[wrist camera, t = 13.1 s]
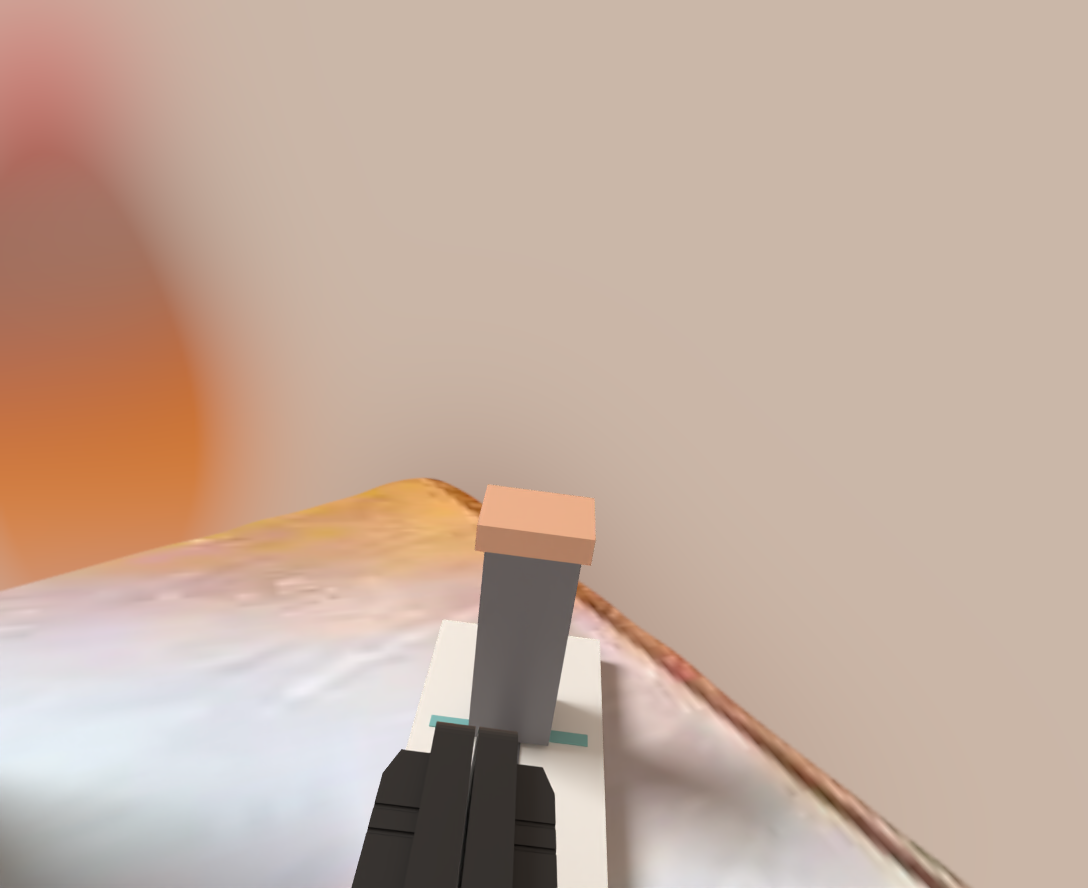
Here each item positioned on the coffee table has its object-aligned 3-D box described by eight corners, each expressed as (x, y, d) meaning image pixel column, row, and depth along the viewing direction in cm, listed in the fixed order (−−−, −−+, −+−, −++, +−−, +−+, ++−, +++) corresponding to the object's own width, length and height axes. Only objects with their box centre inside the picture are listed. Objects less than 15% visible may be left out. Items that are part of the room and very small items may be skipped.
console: (313, 1105, 26) (311, 1082, 25) (441, 639, 49) (442, 618, 48) (607, 1142, 26) (615, 1121, 25) (595, 658, 49) (599, 638, 48)
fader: (459, 734, 39) (477, 524, 32) (469, 683, 42) (487, 484, 35) (556, 746, 39) (595, 540, 32) (558, 694, 42) (594, 498, 35)
